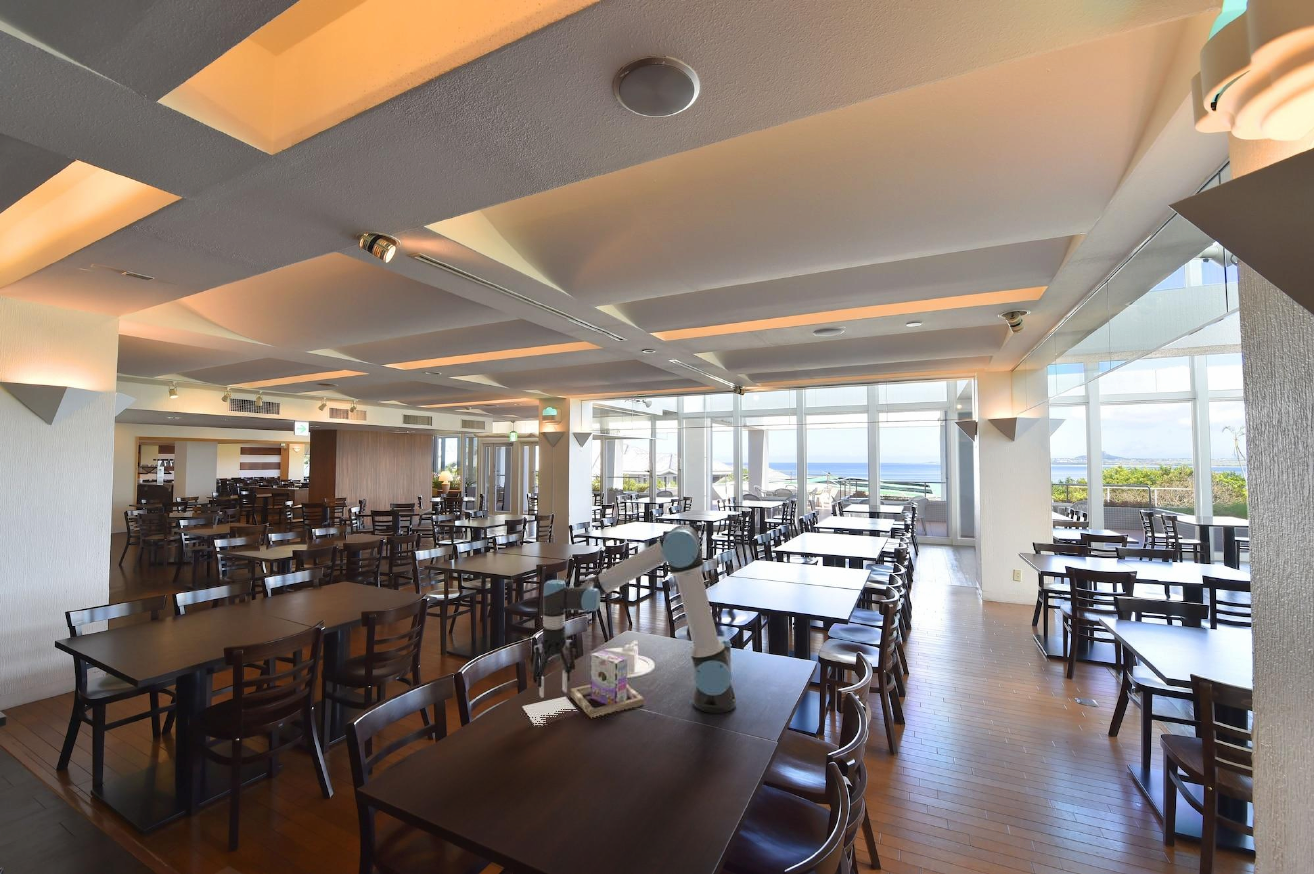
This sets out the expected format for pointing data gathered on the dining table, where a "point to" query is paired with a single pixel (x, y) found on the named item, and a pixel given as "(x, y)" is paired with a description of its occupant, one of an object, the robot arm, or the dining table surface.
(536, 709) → the place mat
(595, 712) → the pocket frame
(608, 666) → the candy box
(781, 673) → the dining table surface
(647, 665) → the dish
